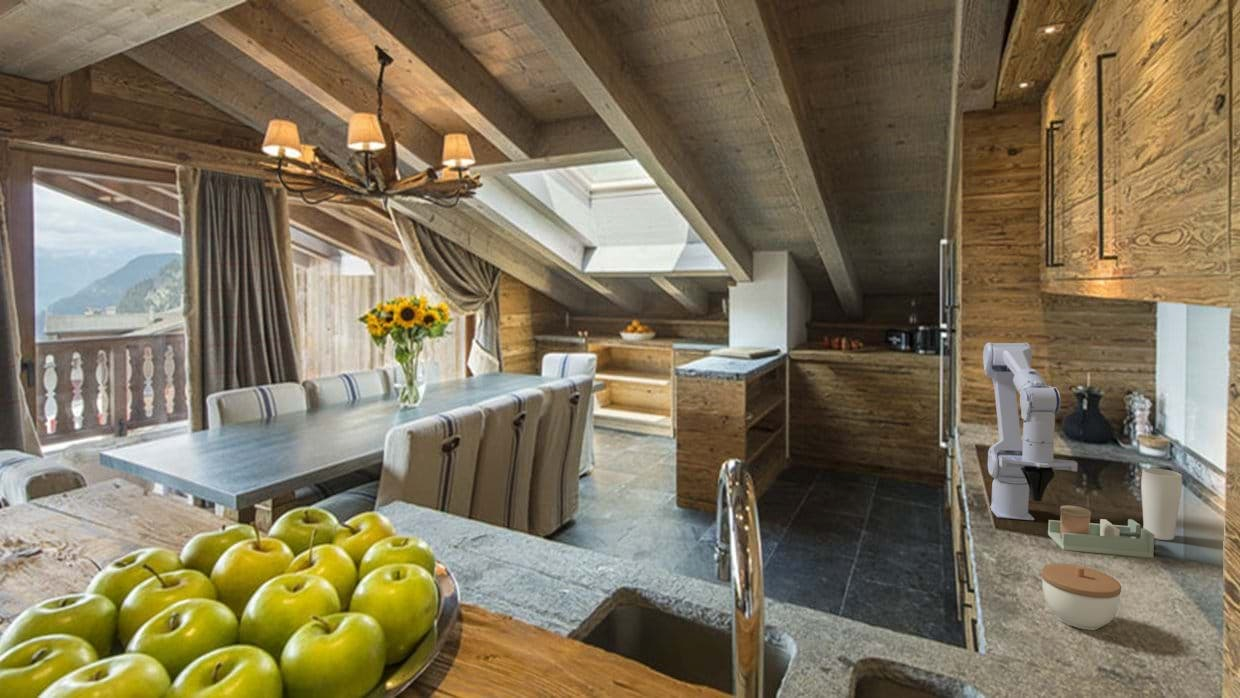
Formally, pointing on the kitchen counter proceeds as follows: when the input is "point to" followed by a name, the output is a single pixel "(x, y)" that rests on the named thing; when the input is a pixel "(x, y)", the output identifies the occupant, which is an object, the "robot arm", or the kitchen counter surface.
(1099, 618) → the lidded jar
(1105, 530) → the pusher
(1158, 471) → the drinking glass
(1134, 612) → the kitchen counter surface
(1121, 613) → the kitchen counter surface
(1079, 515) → the jar
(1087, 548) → the pale green shallow tray
